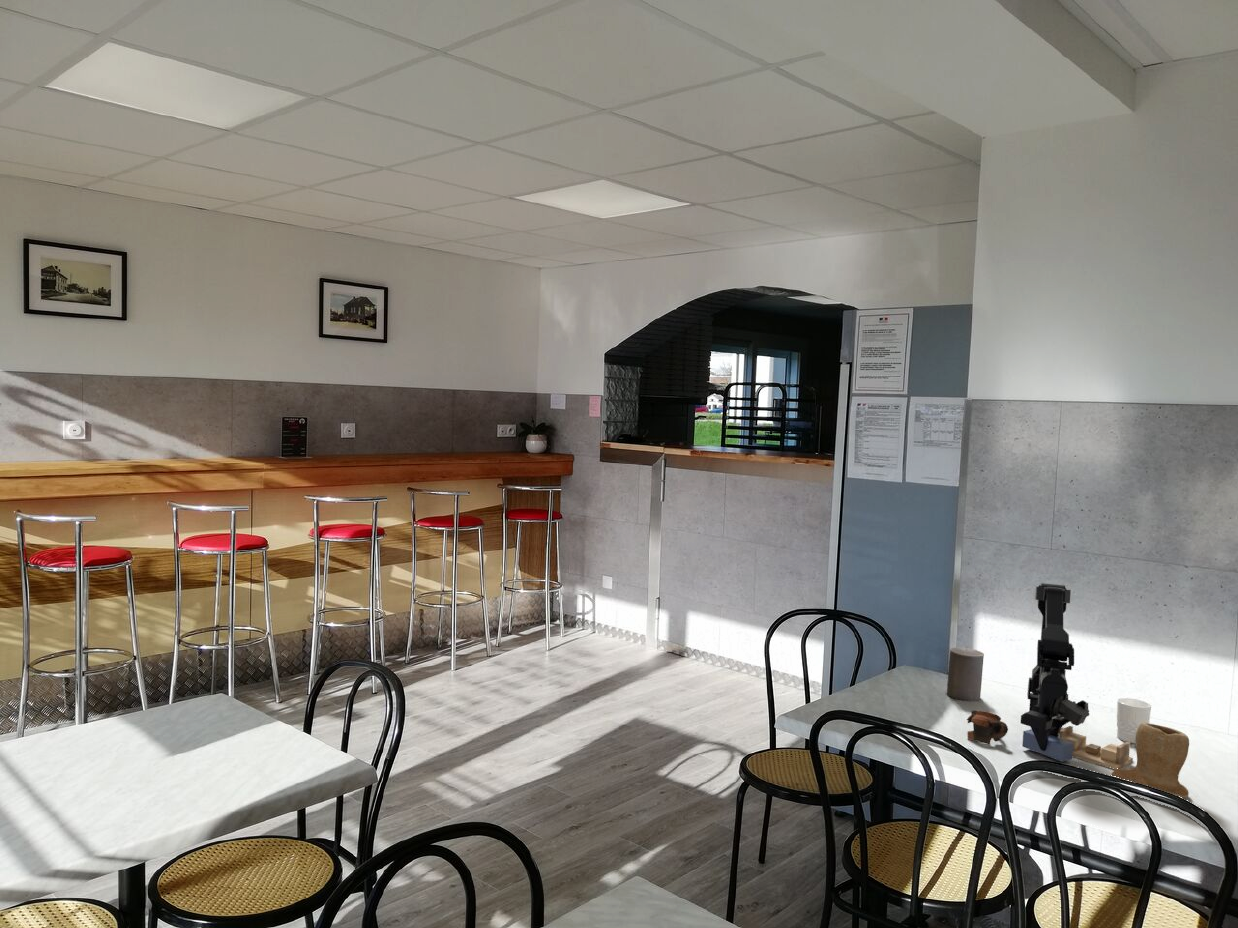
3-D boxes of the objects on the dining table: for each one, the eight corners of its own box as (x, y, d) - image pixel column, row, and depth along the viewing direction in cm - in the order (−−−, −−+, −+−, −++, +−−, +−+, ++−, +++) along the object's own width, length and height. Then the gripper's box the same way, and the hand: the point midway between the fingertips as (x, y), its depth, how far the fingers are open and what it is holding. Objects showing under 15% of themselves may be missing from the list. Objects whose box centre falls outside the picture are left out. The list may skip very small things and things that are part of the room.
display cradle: (1116, 769, 223) (1117, 749, 222) (1053, 750, 234) (1055, 731, 234) (1132, 760, 229) (1134, 741, 229) (1070, 742, 240) (1072, 724, 240)
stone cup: (1190, 790, 212) (1195, 726, 211) (1186, 807, 202) (1191, 740, 201) (1116, 773, 221) (1121, 711, 220) (1108, 788, 211) (1113, 724, 210)
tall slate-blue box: (1022, 746, 234) (1023, 730, 234) (1032, 743, 236) (1033, 728, 236) (1062, 761, 224) (1063, 745, 224) (1072, 758, 227) (1073, 742, 226)
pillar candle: (941, 695, 277) (945, 646, 276) (953, 688, 285) (957, 641, 284) (973, 703, 271) (977, 653, 270) (985, 696, 279) (989, 647, 277)
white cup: (1153, 746, 241) (1156, 708, 240) (1120, 742, 242) (1123, 705, 241) (1142, 736, 248) (1145, 699, 248) (1110, 732, 250) (1113, 696, 249)
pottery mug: (955, 738, 242) (960, 707, 245) (978, 750, 246) (983, 719, 249) (995, 741, 232) (1000, 709, 235) (1018, 753, 236) (1023, 721, 239)
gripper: (1068, 702, 217) (1063, 767, 218) (1101, 688, 229) (1096, 750, 230) (1021, 690, 225) (1017, 752, 226) (1055, 677, 238) (1051, 737, 239)
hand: (1047, 748), depth 230 cm, fingers closed on tall slate-blue box, 4 cm apart
